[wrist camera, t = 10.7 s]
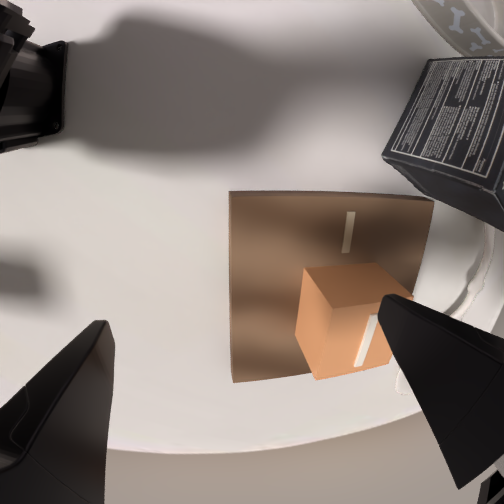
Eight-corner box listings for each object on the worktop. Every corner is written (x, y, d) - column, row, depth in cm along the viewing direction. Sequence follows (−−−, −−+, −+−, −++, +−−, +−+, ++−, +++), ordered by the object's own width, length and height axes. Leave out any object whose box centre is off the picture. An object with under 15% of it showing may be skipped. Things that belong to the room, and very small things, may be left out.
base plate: (228, 191, 19) (237, 210, 14) (423, 196, 21) (459, 213, 17) (231, 371, 25) (237, 409, 21) (383, 346, 28) (404, 374, 24)
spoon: (513, 153, 22) (535, 160, 18) (423, 377, 34) (435, 393, 31) (475, 124, 20) (502, 129, 16) (376, 387, 32) (388, 406, 29)
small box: (426, 199, 21) (521, 248, 12) (377, 156, 19) (490, 194, 10) (468, 105, 18) (561, 122, 9) (427, 56, 16) (531, 50, 7)
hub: (360, 325, 24) (389, 365, 19) (294, 334, 23) (316, 382, 18) (376, 262, 21) (415, 298, 16) (303, 267, 20) (334, 310, 15)
